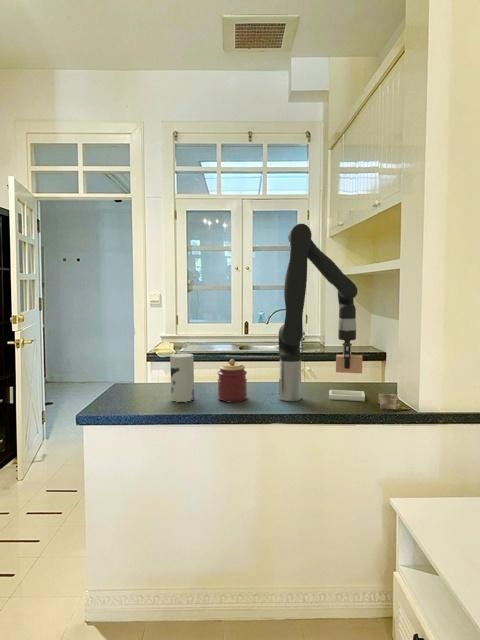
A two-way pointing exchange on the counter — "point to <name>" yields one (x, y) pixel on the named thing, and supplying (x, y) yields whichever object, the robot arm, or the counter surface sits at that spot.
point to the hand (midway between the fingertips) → (347, 367)
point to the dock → (388, 401)
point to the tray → (346, 395)
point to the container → (182, 377)
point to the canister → (232, 382)
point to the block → (354, 364)
